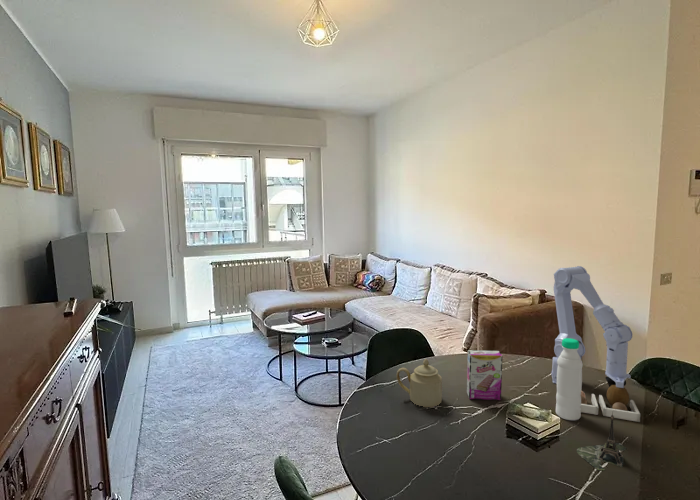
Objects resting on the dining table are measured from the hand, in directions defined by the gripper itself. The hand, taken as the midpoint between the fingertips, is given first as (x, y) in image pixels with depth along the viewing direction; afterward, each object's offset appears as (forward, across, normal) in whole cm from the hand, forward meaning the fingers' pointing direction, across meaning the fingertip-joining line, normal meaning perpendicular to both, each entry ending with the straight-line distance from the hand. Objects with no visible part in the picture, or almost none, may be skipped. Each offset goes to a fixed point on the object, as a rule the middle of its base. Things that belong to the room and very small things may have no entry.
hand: (614, 399), depth 135 cm
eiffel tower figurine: (+2, -35, +6) cm, 36 cm away
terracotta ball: (+1, -4, +11) cm, 12 cm away
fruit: (+1, -4, 0) cm, 4 cm away
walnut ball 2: (+1, -8, 0) cm, 9 cm away
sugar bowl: (+1, -24, +61) cm, 65 cm away
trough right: (+1, -7, 0) cm, 7 cm away
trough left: (+1, -7, +11) cm, 13 cm away
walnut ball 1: (+1, -8, +11) cm, 14 cm away
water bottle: (+1, -16, +15) cm, 22 cm away
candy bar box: (+1, -13, +41) cm, 43 cm away
